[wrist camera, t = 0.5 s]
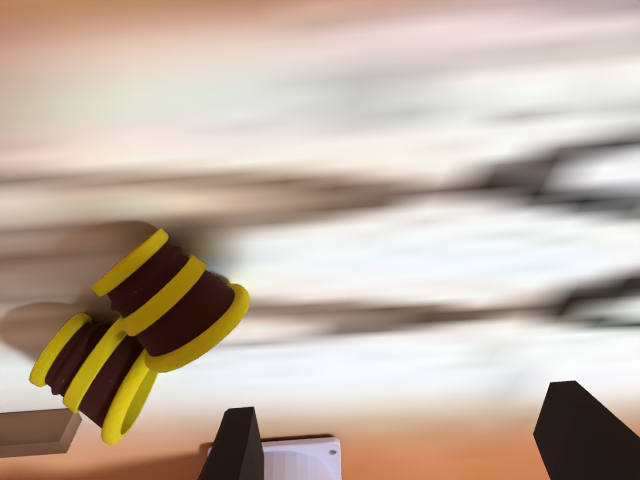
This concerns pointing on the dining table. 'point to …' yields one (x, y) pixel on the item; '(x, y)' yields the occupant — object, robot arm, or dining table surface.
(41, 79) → the dining table surface
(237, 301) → the opera glasses
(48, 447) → the bar
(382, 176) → the dining table surface
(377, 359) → the dining table surface
